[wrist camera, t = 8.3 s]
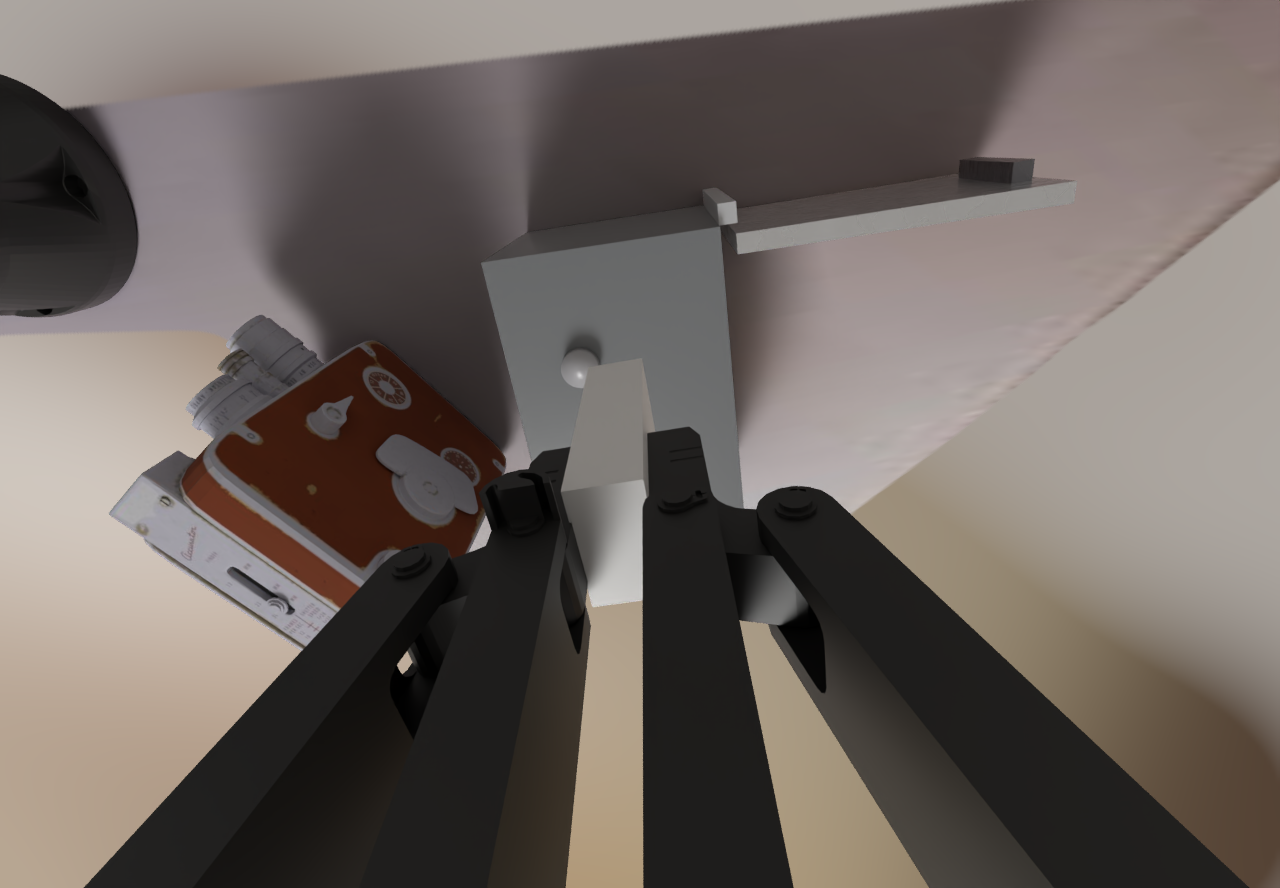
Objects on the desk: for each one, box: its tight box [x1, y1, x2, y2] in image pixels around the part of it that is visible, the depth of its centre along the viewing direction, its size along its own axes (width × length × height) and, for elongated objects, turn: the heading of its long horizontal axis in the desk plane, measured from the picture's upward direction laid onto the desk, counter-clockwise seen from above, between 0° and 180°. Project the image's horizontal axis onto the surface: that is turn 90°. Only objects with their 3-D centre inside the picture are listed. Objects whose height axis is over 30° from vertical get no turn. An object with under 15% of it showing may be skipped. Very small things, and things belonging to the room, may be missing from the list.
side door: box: [720, 157, 1077, 254], centre depth 34 cm, size 2×16×11 cm, turn 99°
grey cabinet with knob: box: [481, 187, 744, 509], centre depth 39 cm, size 13×24×13 cm, turn 8°
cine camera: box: [109, 315, 506, 651], centre depth 38 cm, size 9×19×20 cm, turn 42°
